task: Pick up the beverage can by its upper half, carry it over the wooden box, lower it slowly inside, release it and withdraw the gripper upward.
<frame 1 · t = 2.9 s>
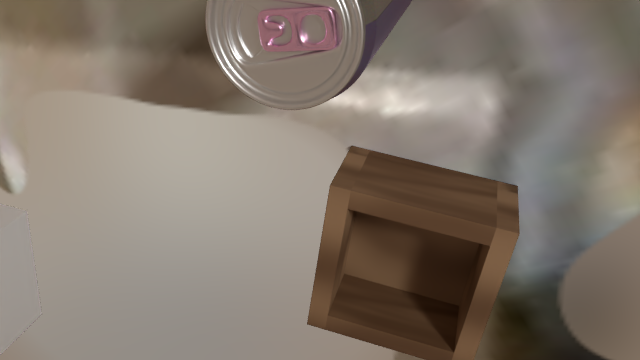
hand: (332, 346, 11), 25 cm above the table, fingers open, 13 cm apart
wooden box: (414, 233, 40), on the table
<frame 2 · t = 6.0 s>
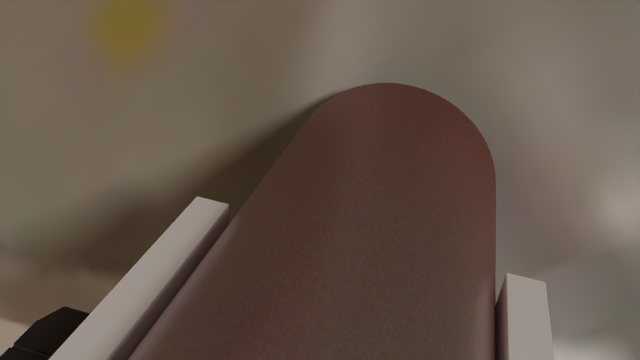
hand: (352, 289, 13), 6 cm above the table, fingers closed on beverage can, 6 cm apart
beverage can: (393, 167, 18), on the table, touching gripper
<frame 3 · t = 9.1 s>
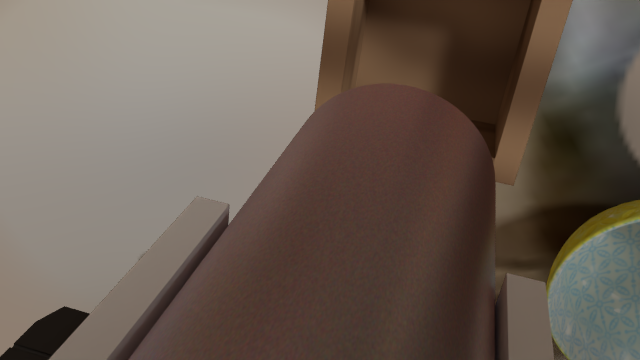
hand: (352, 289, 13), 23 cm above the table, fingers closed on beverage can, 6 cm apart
wooden box: (440, 35, 32), on the table
beverage can: (393, 168, 18), point 17 cm above the table, touching gripper
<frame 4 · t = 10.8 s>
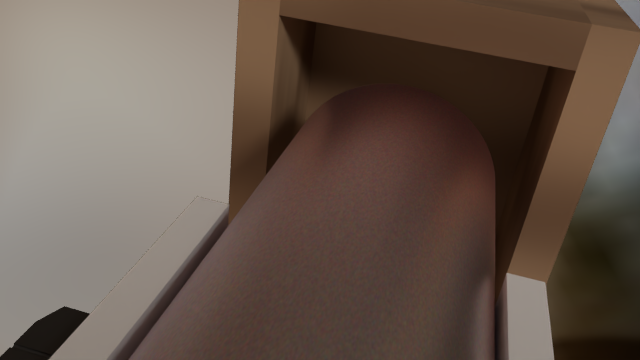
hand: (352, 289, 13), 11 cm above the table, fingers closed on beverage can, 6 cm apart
wooden box: (416, 108, 23), on the table
beverage can: (393, 168, 18), point 5 cm above the table, touching gripper
when the fingers open (8 cm above the table, at t = 12.3 s): beverage can drops 1 cm, resting on wooden box.
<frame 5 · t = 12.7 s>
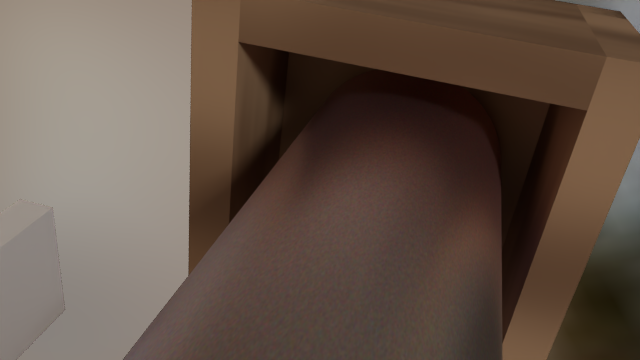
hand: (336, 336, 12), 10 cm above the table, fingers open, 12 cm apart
wooden box: (403, 138, 20), on the table
beverage can: (404, 148, 19), point 1 cm above the table, touching wooden box
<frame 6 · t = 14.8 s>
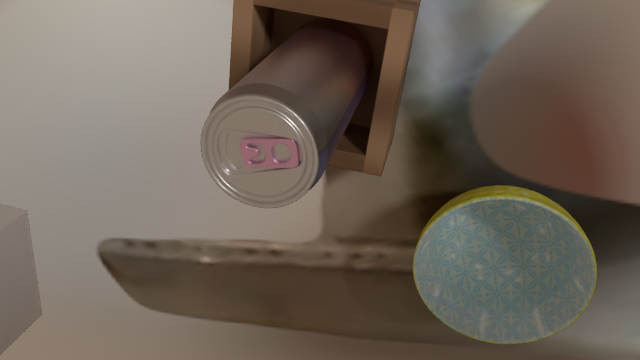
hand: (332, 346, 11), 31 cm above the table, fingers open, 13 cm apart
wooden box: (330, 58, 41), on the table
bowl: (498, 225, 44), on the table
beverage can: (330, 61, 40), point 1 cm above the table, touching wooden box
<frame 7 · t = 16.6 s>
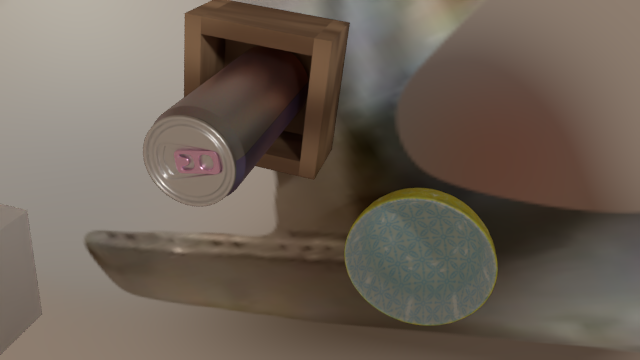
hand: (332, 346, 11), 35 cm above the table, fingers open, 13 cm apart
wooden box: (276, 76, 47), on the table
bowl: (426, 222, 50), on the table
beverage can: (274, 79, 46), point 1 cm above the table, touching wooden box
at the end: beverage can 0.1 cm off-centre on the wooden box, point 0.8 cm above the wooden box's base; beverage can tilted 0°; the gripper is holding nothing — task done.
